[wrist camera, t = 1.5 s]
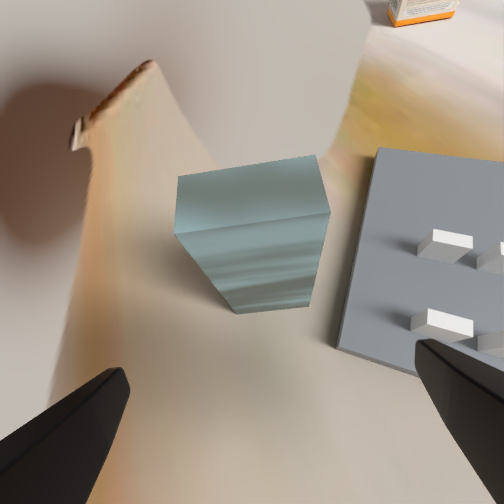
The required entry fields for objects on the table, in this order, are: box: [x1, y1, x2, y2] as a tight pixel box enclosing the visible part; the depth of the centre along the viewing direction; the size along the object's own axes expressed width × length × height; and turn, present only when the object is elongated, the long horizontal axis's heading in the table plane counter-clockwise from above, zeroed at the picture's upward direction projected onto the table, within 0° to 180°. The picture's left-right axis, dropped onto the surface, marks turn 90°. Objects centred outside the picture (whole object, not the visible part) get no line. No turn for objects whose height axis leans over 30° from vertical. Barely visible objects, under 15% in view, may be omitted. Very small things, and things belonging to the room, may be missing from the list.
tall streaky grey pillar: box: [174, 155, 331, 314], centre depth 16 cm, size 4×6×13 cm, turn 94°
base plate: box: [336, 147, 504, 377], centre depth 19 cm, size 20×15×4 cm
